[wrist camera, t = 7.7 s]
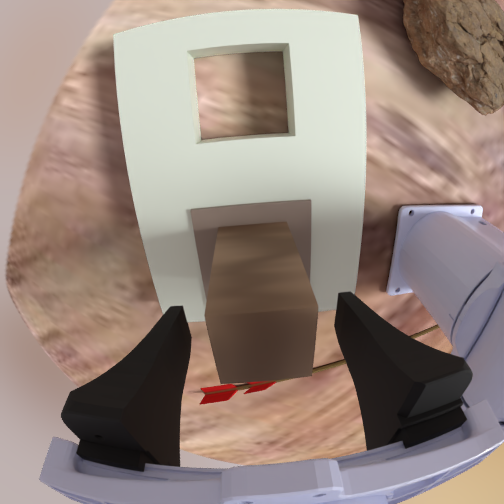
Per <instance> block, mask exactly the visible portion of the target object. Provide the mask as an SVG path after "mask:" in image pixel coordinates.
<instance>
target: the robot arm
mask: <svg viewBox="0 0 504 504" xmlns="http://www.w3.org/2000/svg"><path fill="white" fill-rule="evenodd" d="M410 210H412V212H411V214H409V212H410ZM471 210H472V211H471ZM482 211H483V209H482V206H480V205H409V206H402V207H401V208H400V210H399V214H398V223H397V230H396V238H395V244H394V251H393V257H392V263H391V268H390V274H389V279H388V284H387V289H386V291H387V293H388V295H391V296H392V295H398V294H404V293H410V292H414V293H415V295H416V296H417V297H418V299H419V300H420V301H421V303H422V304H423V305H424V307H425V308H426V309H427V311H428V312H429V313H430V315H431V316H432V317H433V319H434V320H435V321H436V323H437V324H438V326H439V327H440V328H441V330H442V331H443V333H444V334H445V336H446V337H447V338H448V340H449V341H450V343H451V344H452V346H453V350H452V352H451V354H448V353H445V352H442V351H439V350H437V349H434V348H432V347H429V346H427V345H425V344H423V343H421V342H419V341H417V340H415V339H413V338H411V337H409V336H408V335H406V334H404V333H403V332H401V331H399V330H398V329H396V328H395V327H393V326H392V325H391V324H389V323H388V322H387V321H385V320H384V319H383V318H381V317H380V316H379V315H378V314H376V313H375V312H374V311H373V310H372V309H370V308H369V307H368V306H367V305H366V304H365V303H363V302H362V301H361V300H360V299H359V298H358V297H357V296H355V295H354V294H353V293H352V292H351V291H349V292H341V293H338V300H337V308H336V316H335V324H334V327H335V331H336V335H337V339H338V343H339V345H340V348H341V351H342V353H343V356H344V358H345V361H346V363H347V366H348V368H349V371H350V374H351V376H352V379H353V382H354V385H355V388H356V392H357V396H358V401H359V405H360V410H361V415H362V420H363V426H364V432H365V439H366V447H367V451H364V452H360V453H356V454H351V455H347V456H342V457H337V458H332V459H328V458H321V459H310V460H303V461H296V462H287V463H277V464H265V465H247V466H238V467H232V468H229V469H214V468H213V469H212V468H188V467H180V415H181V401H182V394H183V389H184V384H185V379H186V374H187V369H188V364H189V360H190V352H191V338H192V337H191V334H190V330H189V327H188V323H187V319H186V315H185V312H184V308H183V306H170V307H169V309H168V310H167V311H166V312H165V313H164V315H163V316H162V317H161V318H160V320H159V321H158V322H157V323H156V325H155V326H154V327H153V328H152V329H151V331H150V332H149V333H148V334H147V335H146V337H145V338H144V339H143V340H142V341H141V342H140V343H139V344H138V345H137V346H136V347H135V348H134V349H133V350H132V351H131V352H130V353H129V354H128V355H127V356H126V357H125V358H123V359H122V360H121V361H120V362H119V363H117V364H116V365H115V366H113V367H112V368H111V369H109V370H108V371H107V372H105V373H104V374H102V375H101V376H99V377H97V378H96V379H94V380H92V381H91V382H89V383H87V384H85V385H83V386H81V387H79V388H77V389H75V390H73V391H71V392H70V394H69V396H68V398H67V401H66V403H65V405H64V408H63V410H62V413H61V418H62V420H63V422H64V423H65V424H66V426H67V427H68V428H69V429H70V430H71V431H72V432H73V433H74V434H75V435H76V436H77V437H78V438H79V439H80V442H79V445H78V444H76V443H74V442H71V441H68V440H64V439H61V438H58V437H53V438H52V441H51V444H50V447H49V450H48V453H47V456H46V459H45V462H44V465H43V468H42V472H41V475H40V481H41V482H43V483H44V484H46V485H48V486H49V487H51V488H52V489H54V490H56V491H57V492H59V493H61V494H63V495H64V496H66V497H68V498H70V499H72V500H74V501H77V502H80V503H83V504H397V503H400V502H402V501H405V500H407V499H410V498H412V497H414V496H417V495H419V494H421V493H423V492H426V491H428V490H430V489H432V488H434V487H436V486H438V485H440V484H442V483H444V482H446V481H448V480H450V479H452V478H454V477H456V476H457V475H459V474H461V473H463V472H465V471H467V470H468V469H470V468H472V467H473V466H475V465H477V464H478V463H480V462H481V461H482V460H483V459H485V458H486V457H487V456H488V455H490V454H491V453H492V452H493V451H494V450H495V449H497V448H498V447H499V446H500V445H501V444H502V443H503V442H504V232H502V231H501V230H500V229H498V228H497V227H495V226H494V225H492V224H491V223H489V222H488V221H486V220H485V219H483V218H482ZM397 288H398V289H397ZM396 289H397V290H396Z"/></svg>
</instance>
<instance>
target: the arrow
mask: <svg viewBox="0 0 504 504" xmlns="http://www.w3.org/2000/svg"><path fill="white" fill-rule="evenodd" d="M437 328H439V326H438V325H436V326H433V327H431V328H429V329H426V330H424V331H422V332H419V333H417V334H414V335H412V336H409V337H411V338H413V339H414V338H417V337H419V336H421V335H424V334H426V333H428V332H430V331H433V330H435V329H437ZM343 364H346V361H345V360H342V361H338V362H335V363H332V364H328V365H325V366H322V367H318V368H314V369H313V370H312V373H316V372H319V371H323V370H326V369H330V368H333V367H336V366H339V365H343ZM292 379H293V378H292ZM285 380H289V379H283V380H273V381H261V382H247V383H249V384H248V385H243V386H238V387H237V386H235V385H233V384H227V385H220V386H214V387H207V388H201V389H202V390H203V391H204V392H205V396H204V398H203V399H202V401H201V403H200V404H207V403H214V402H220V401H227V400H229V399H230V398H231V397H232V396H233V395H234V394H235V393H236V392H237V391H238V390H244V389H249V388H250V389H249V390H247V391H246V392H245V393H244V394H247V393H252V392H257V391H262V390H265V389H267V388H269V387H270V386H272V385H273V384H275V383H277V382H281V381H285Z"/></svg>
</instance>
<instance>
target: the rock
mask: <svg viewBox="0 0 504 504" xmlns="http://www.w3.org/2000/svg"><path fill="white" fill-rule="evenodd" d="M403 2H404V5H405V6H404V9H403V11H404V15H403V23H404V26H405V28H406V31H407V36H408V38H409V40H410V42H411V44H412V49H413V50H414V51H415V52H416V53H417V55H418V58H419V61H420V63H421V64H422V65H423V66H424V67H425V68H426V69H428V70H429V71H430V72H432V73H433V74H434V75H436V76H437V77H439V78H440V79H441V80H442V81H443V82H444V83H445V85H446V86H447V87H448V88H450V89H451V90H452V91H453V92H454V93H455V94H456V95H457V96H459V97H460V98H462V99H463V100H465V101H467V102H468V103H469V104H470V105H472V106H473V107H474V108H475V109H476V110H477V111H478V112H479V113H481V114H482V115H487V114H488V113H490V114H492V113H494V112H495V111H497V110H499V109H500V108H501V107H502V106H503V105H504V12H503V10H502V9H501V7H500V6H499V4H498V3H497V2H496V1H495V0H403Z"/></svg>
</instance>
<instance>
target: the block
mask: <svg viewBox="0 0 504 504" xmlns="http://www.w3.org/2000/svg"><path fill="white" fill-rule="evenodd" d="M204 317H205V321H206V326H207V330H208V334H209V338H210V343H211V347H212V351H213V355H214V359H215V363H216V367H217V371H218V375H219V379H220V383H221V384H230V383H247V382H261V381H273V380H283V379H292V378H300V377H308V376H312V370H313V361H314V351H315V341H316V331H317V319H318V304H317V301H316V298H315V295H314V292H313V290H312V287H311V284H310V281H309V279H308V276H307V273H306V271H305V268H304V265H303V263H302V260H301V257H300V255H299V252H298V249H297V247H296V244H295V242H294V239H293V236H292V234H291V231H290V229H289V226H288V224H287V222H274V223H261V224H249V225H237V226H225V227H218V233H217V239H216V245H215V251H214V257H213V263H212V269H211V275H210V282H209V288H208V295H207V301H206V308H205V315H204Z"/></svg>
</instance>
